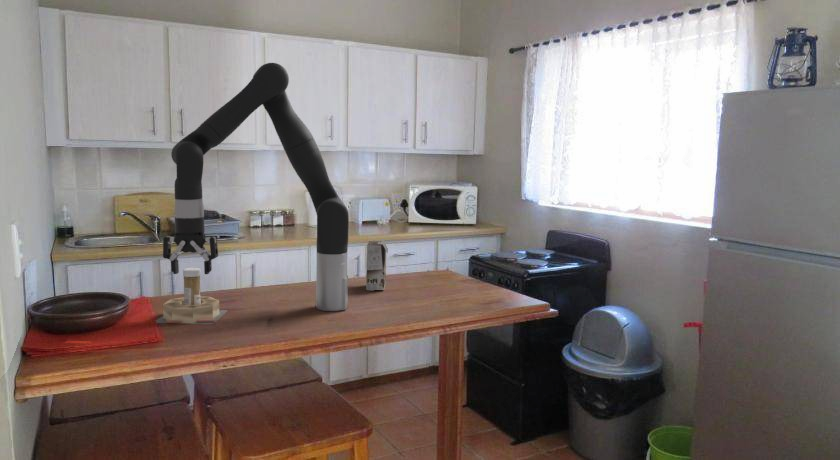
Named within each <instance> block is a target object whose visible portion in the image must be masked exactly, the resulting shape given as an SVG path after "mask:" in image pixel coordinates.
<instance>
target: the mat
mask: <svg viewBox="0 0 840 460" xmlns="http://www.w3.org/2000/svg"><path fill="white" fill-rule="evenodd" d="M228 311H229V310H228V309H225V310H224V309H223V310H222V309H219V315H218V316H217V317H215V318H214V319H215V322H198V323H178V324H186V325H188V324H189V325H214V323H216V322H217V321H218V320H219V319H220V318H221V317H222V316H223V315H225V314H227V312H228ZM155 321H156V323H155V324H167V323H166V321H167V320H166V319H164V318H163V315H161V316H160V317H158V318H157V319H156V320H155Z"/></svg>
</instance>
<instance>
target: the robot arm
mask: <svg viewBox="0 0 840 460" xmlns="http://www.w3.org/2000/svg"><path fill="white" fill-rule="evenodd" d="M289 79H290V78H289V73H288V70H287V69H286V68H285V67H284V66H282V65H281V64H279V63H277V62H267V63H265V64H262V65H261V66H259V68H257V69H256V71H255V73H254V74H253V76H252V78H251V80H250V81H249V82H248V83H247V85H245V86H244V87H243V89H242V90H241V91H239V92H238V93H237V94H236V95H235V96H234V97H232V98H231V99H230V100H229V101H227V102H226V103H225V104H223V105H222V106H221V107H220V108H219V109H217V110H216V111H215V112H213V113H212V114H211V115H210V116H209V117H208V118H207V119H205V120H204V121H203V122H202V123H200V125H199V126H198V127H197V128H196V129H195V130H193V131H192V132H190V133H189V134H188V135H186V136H185V137H183V138H182V139H181V140H180V141H178V142H177V143H175V144H174V146H173V147H172V148H171V154H170V155H171V159H172V162H173V163H174V164H175V166H176V178H175V180H174V205H173V206H174V211H173V215H174V233H175V235H174V236H171V235H166V236H164V237H163V241H162V243H163V244H162V245H163V246H162V258H163V259H167V260H169V261H170V270H171V272H172V273H173V275H177V274H179V272H180V271H179V270H180V269H179V267H180V265H179V259H178V258H179V256H180V255H181V254H182V253H198V254H199V255H200V256H201V257H202V259H203V260H204V261H203V265H204V266H203V267H204V271H203V272H204V275H209V274H210V272H212V269H213V267H212V260H215V259H216V258H218V256H219V249H218V241H217V240H218V239H217V236H216V235H215V236H210V237H209V236H208V237H207V236H206V235H205V207H204V201H203V184H202V180H203V172H204V156H205V154H207V153H208V152H209V151H210V150H212V149H213V148H215V147H218V146H220V145H221V144H222V142H224V141H225V140H226V139H227V138H228V137H229V136H230V135H232V134H233V133H234V132H235V131H236V130H237V129H238V128H239V127H240V126H241V124H243V122H245V120H246V119H247V118H248V117H250V116H251V115H252V114H253V113H254V111H255V112H256V110H257V109H259V107H261V106H263V108H264V109H265V111H266V113H267V114H268V116H269V119H270V120H271V122H272V125H273V127H274V130H275V132H276V135H277V136H278V139H279V141H280V144H281V145H282V147H283V150H284V152H285V154H286V156H287V158H288V161H289V163H290V165H291V167H292V168H293V170H294V171H295V173H296V175H297V176H298V178H299V179H300V181H301V182H302V184H303V185H304V187H305V188H306V190H307V192H308V195H309V196H310V199H311V202H312V205H313V207H314V210H315V213H316V268H315V269H316V276H315V277H316V278H315V280H316V285H315V287H316V293H315V294H316V295H315V296H316V297H315V303H316V305H315V307H316V309H317V310H319V311H324V312H338V311H346V310H347V308H348V305H349V304H348V298H349V297H348V296H349V291H348V289H349V276H348V246H349V226H350V224H349V223H350V222H349V221H350V218H349V217H350V216H349V214H350V213H349V209H348V208H347V206H346V205H345V203H344V201H342V200H341V198H340V196H339V195H338V193H337V192H336V189H335V188H334V186H333V184H332V182H331V180H330V177H329V174H328V172H327V167H326V165H325V161H324V158H323V156H322V154H321V151H320V148H319V147H318V145H317V142H316V141H315V138H314V136H313V134H312V133H311V131H310V129H309V128H308V127H307V126H306V124H305V123H304V122H303V121H302V120H301V118H300V117H299V116H298V114H297V113H296V112H295V110H294V109H293V106H292V105H291V102H290V100H289V96H288V94H287V91H286V90H287V88H288V86H289V82H290V80H289ZM206 242H207V245H208V246H209V250H210V253H209V251H208V249H207V248H206V246H205V244H206ZM173 243H175V244H176V246H177V247H175V249H174V251H173V253H172V245H173Z"/></svg>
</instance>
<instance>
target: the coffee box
mask: <svg viewBox="0 0 840 460" xmlns="http://www.w3.org/2000/svg"><path fill="white" fill-rule="evenodd" d="M386 270H387V249H386V247H385V245H384V242H383V240H381V241H378V240H376V241H368V243H367V244H366V272H365V273H366V277H365V278H366V284H365V285H366V286H365V290H366V291H374V290H385V288H386V285H385V284H386V280H387V279H386V278H387V277H386V275H387V271H386Z"/></svg>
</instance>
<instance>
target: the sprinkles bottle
mask: <svg viewBox="0 0 840 460" xmlns="http://www.w3.org/2000/svg"><path fill="white" fill-rule="evenodd" d="M201 273H202V270H201V268H199V267H187V268H184V269H182V276H183V297H184V305H198V304H201V296H202V295H201V276H202V274H201Z"/></svg>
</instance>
